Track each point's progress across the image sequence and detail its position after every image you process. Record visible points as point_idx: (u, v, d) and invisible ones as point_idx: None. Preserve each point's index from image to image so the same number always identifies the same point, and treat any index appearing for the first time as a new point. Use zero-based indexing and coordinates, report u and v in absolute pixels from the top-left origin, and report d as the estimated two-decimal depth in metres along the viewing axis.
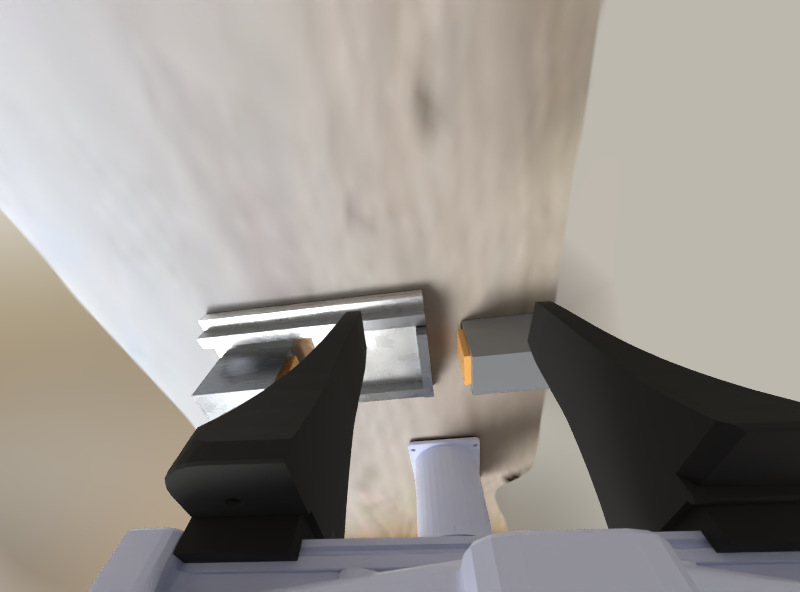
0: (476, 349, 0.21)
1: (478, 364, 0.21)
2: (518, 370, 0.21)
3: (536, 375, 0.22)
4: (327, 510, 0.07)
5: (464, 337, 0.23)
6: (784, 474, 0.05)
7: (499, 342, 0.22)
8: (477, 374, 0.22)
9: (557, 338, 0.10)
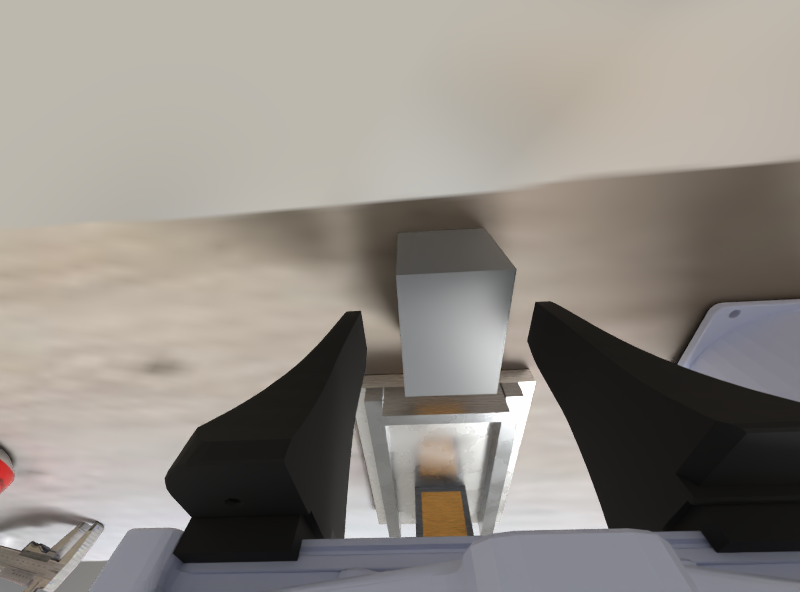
0: None
1: (422, 389, 0.13)
2: (447, 335, 0.11)
3: (467, 304, 0.10)
4: (327, 510, 0.07)
5: None
6: (784, 474, 0.05)
7: None
8: (446, 389, 0.13)
9: (557, 337, 0.10)
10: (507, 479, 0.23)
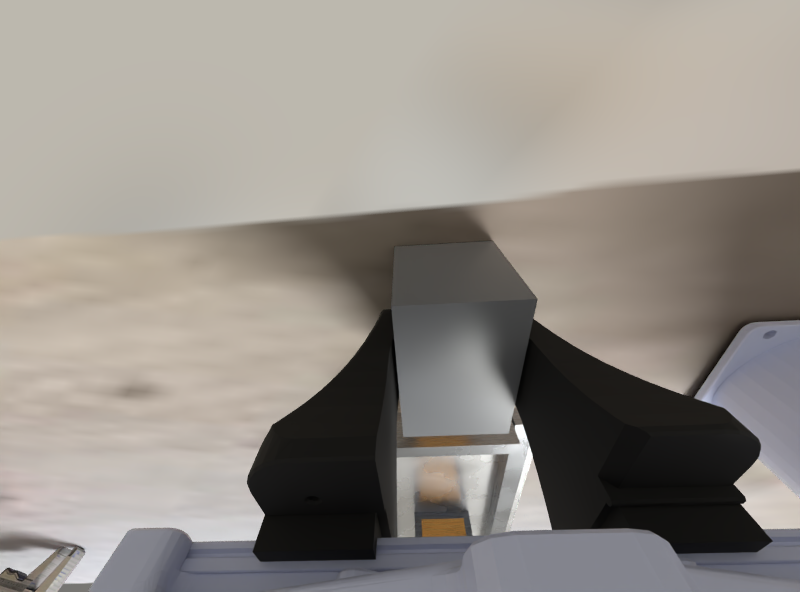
0: None
1: (423, 429, 0.11)
2: (452, 372, 0.09)
3: (476, 339, 0.09)
4: (391, 509, 0.07)
5: None
6: (699, 476, 0.05)
7: None
8: (450, 429, 0.11)
9: None
10: (513, 504, 0.21)
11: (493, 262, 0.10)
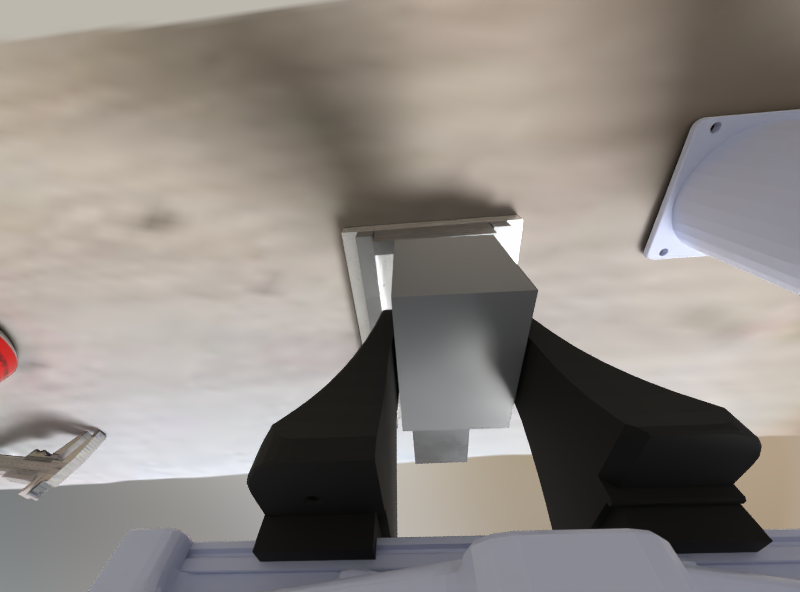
0: None
1: (422, 423, 0.11)
2: (452, 364, 0.09)
3: (476, 331, 0.09)
4: (390, 508, 0.07)
5: None
6: (699, 476, 0.05)
7: None
8: (450, 423, 0.11)
9: None
10: None
11: (493, 255, 0.10)
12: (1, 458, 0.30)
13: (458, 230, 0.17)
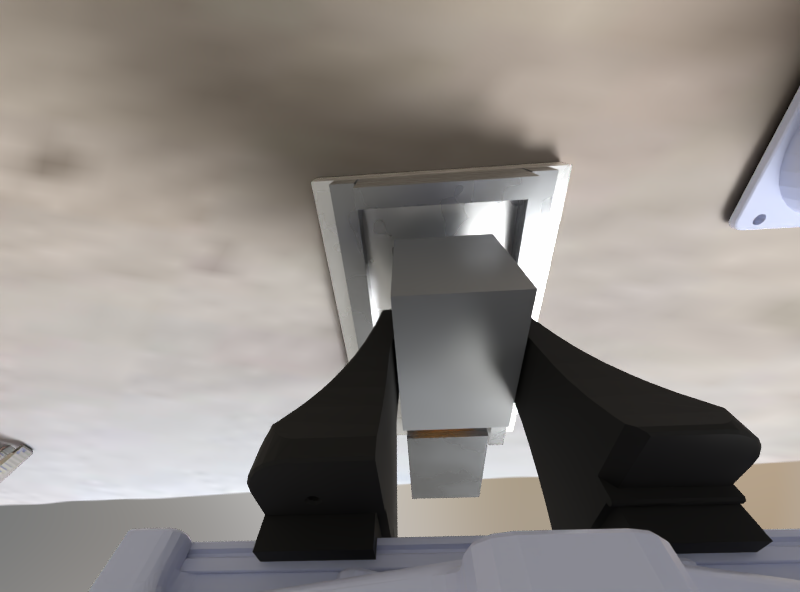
0: None
1: (422, 423, 0.11)
2: (452, 364, 0.09)
3: (476, 330, 0.09)
4: (391, 508, 0.07)
5: None
6: (699, 476, 0.05)
7: None
8: (450, 423, 0.11)
9: None
10: None
11: (493, 254, 0.10)
12: None
13: (480, 175, 0.11)
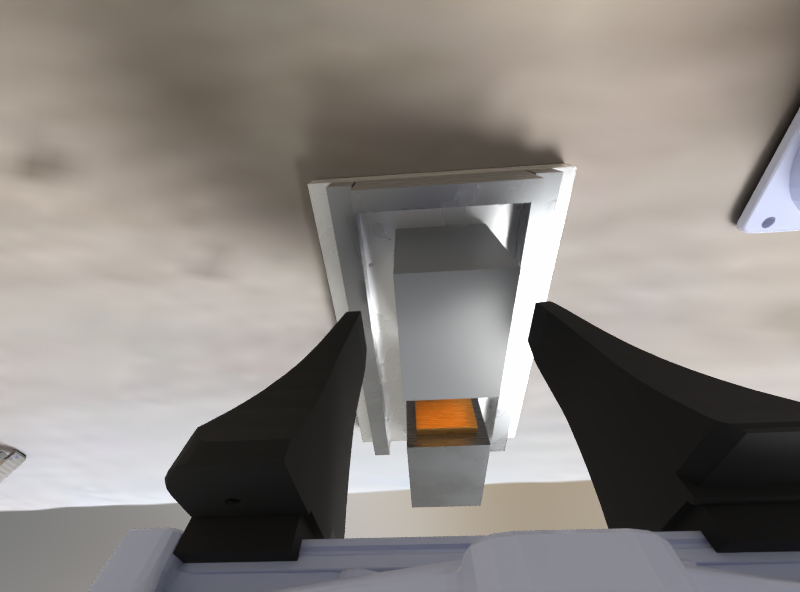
0: None
1: (421, 393, 0.12)
2: (447, 336, 0.10)
3: (468, 305, 0.10)
4: (327, 510, 0.07)
5: None
6: (784, 474, 0.05)
7: None
8: (446, 393, 0.12)
9: (557, 337, 0.10)
10: (526, 363, 0.17)
11: (484, 240, 0.11)
12: None
13: (482, 177, 0.11)
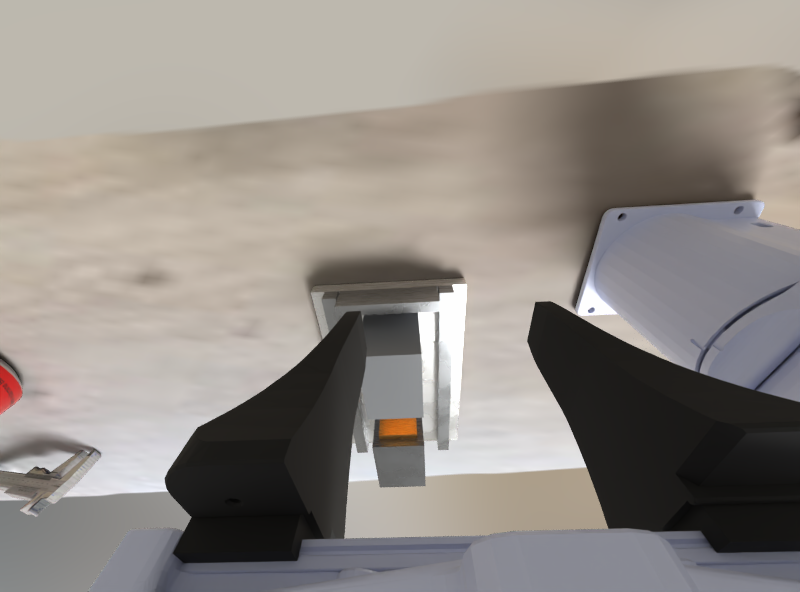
0: None
1: (377, 415, 0.21)
2: (388, 386, 0.19)
3: (397, 370, 0.18)
4: (327, 510, 0.07)
5: None
6: (784, 474, 0.05)
7: None
8: (392, 415, 0.21)
9: (557, 337, 0.10)
10: (456, 390, 0.26)
11: (411, 329, 0.20)
12: (3, 474, 0.32)
13: (409, 295, 0.19)
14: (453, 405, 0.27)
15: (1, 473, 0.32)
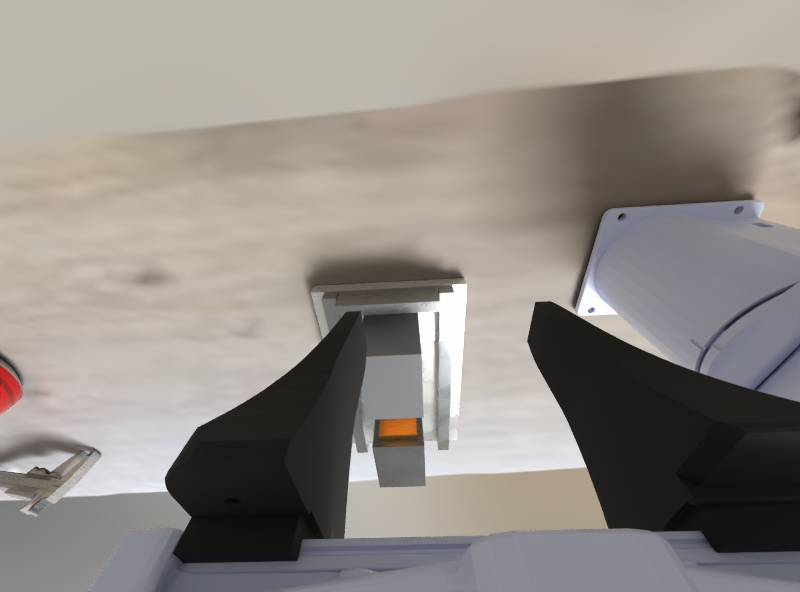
0: None
1: (377, 415, 0.21)
2: (388, 386, 0.19)
3: (397, 371, 0.18)
4: (327, 510, 0.07)
5: None
6: (784, 474, 0.05)
7: None
8: (392, 415, 0.21)
9: (557, 338, 0.10)
10: (456, 390, 0.26)
11: (411, 329, 0.20)
12: (3, 474, 0.32)
13: (409, 295, 0.19)
14: (453, 405, 0.27)
15: (1, 473, 0.32)
